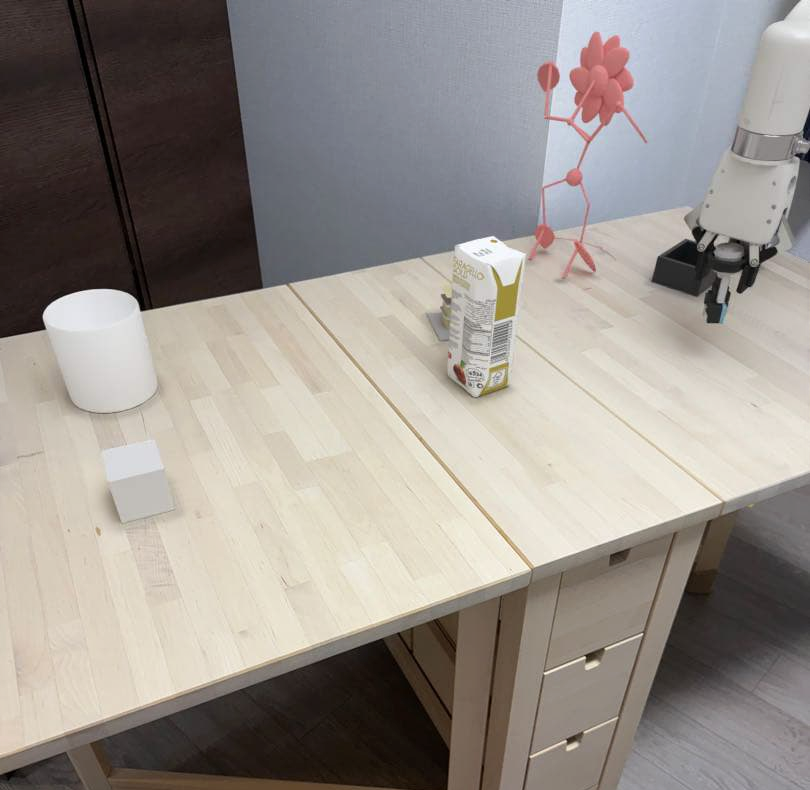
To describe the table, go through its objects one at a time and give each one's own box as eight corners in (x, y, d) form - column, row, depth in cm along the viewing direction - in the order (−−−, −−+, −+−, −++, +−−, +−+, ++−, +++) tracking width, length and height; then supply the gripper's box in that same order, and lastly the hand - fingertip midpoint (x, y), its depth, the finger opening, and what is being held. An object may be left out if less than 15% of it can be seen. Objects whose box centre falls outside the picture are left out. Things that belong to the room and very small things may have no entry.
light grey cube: (175, 509, 85) (164, 468, 81) (121, 523, 84) (107, 482, 79) (165, 479, 89) (154, 438, 85) (114, 491, 88) (100, 450, 83)
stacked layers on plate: (439, 340, 114) (441, 307, 111) (426, 313, 121) (427, 281, 117) (502, 334, 116) (505, 301, 112) (485, 308, 122) (488, 276, 118)
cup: (121, 359, 109) (99, 280, 101) (175, 385, 104) (157, 304, 96) (52, 394, 102) (22, 313, 94) (107, 423, 97) (81, 340, 89)
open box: (723, 276, 132) (731, 251, 129) (697, 296, 126) (704, 271, 123) (678, 263, 136) (685, 238, 133) (651, 281, 130) (657, 256, 127)
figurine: (593, 297, 126) (641, 55, 101) (497, 245, 141) (519, 23, 117) (656, 276, 132) (715, 43, 108) (558, 228, 147) (590, 15, 123)
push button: (689, 303, 110) (704, 236, 104) (727, 303, 110) (744, 235, 103) (697, 325, 106) (713, 256, 99) (736, 325, 105) (755, 255, 98)
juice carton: (474, 403, 102) (486, 268, 89) (439, 374, 107) (446, 243, 94) (517, 387, 105) (535, 255, 92) (481, 360, 110) (493, 231, 97)
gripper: (846, 150, 90) (792, 292, 102) (712, 123, 98) (677, 258, 111) (824, 166, 86) (771, 312, 98) (686, 136, 94) (653, 275, 106)
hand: (722, 282), depth 104 cm, fingers closed on push button, 5 cm apart
